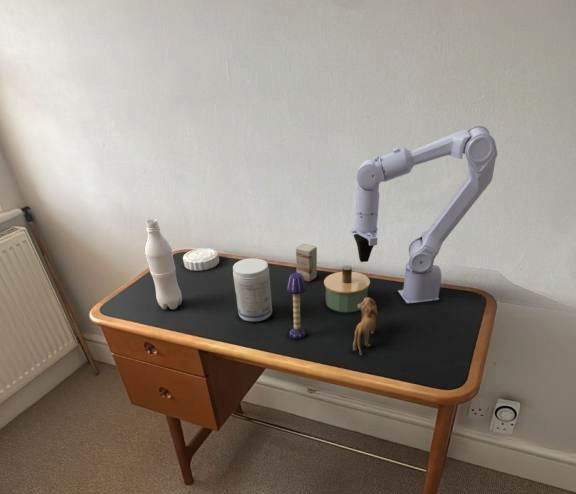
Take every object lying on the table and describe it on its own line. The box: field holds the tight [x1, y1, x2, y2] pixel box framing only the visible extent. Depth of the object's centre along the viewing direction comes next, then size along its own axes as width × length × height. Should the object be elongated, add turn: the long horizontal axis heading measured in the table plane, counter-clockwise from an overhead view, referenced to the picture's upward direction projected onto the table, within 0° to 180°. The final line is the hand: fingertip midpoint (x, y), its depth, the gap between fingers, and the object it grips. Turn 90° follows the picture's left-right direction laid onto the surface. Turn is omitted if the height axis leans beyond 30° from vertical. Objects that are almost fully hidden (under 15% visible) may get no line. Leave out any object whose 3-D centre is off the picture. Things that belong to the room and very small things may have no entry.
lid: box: [323, 265, 371, 294], centre depth 127 cm, size 13×13×5 cm
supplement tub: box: [232, 257, 273, 323], centre depth 125 cm, size 10×10×15 cm
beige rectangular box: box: [295, 243, 318, 283], centre depth 143 cm, size 5×4×10 cm
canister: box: [325, 287, 369, 313], centre depth 130 cm, size 12×12×6 cm
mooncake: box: [182, 247, 220, 272], centre depth 158 cm, size 12×12×4 cm
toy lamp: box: [286, 272, 307, 340], centre depth 115 cm, size 5×5×17 cm
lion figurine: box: [352, 296, 379, 356], centre depth 114 cm, size 15×5×9 cm, turn 168°
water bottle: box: [144, 218, 183, 310], centre depth 129 cm, size 7×7×25 cm
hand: (363, 260), depth 129 cm, fingers closed
